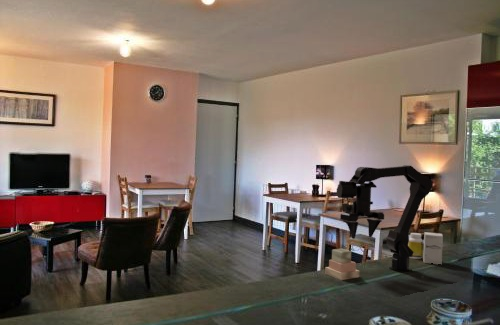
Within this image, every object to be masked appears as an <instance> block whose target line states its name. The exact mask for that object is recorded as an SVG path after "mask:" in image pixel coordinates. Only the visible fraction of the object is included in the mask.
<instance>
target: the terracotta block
mask: <svg viewBox="0 0 500 325" xmlns="http://www.w3.org/2000/svg"><path fill="white" fill-rule="evenodd" d="M328 267H329V268H331V269H333V270H336V271H338V272H340V273H341V272H350V271H356V270H357V263H356V262H355V261H352V260H351V262H347V263H338V262H336V261H333V260H332V259H329V261H328Z"/></svg>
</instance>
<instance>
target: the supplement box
mask: <svg viewBox="0 0 500 325" xmlns="http://www.w3.org/2000/svg"><path fill="white" fill-rule="evenodd" d="M423 237H424V238H423V254H422V261H423V263H424V264H431V263H433V265H438V264H441V265H442V262H443V261H442V260H443V242H444V240H443V239H444V236H443V233H437V232H429V231H428V232H426V231H424V236H423ZM441 265H440V266H441Z"/></svg>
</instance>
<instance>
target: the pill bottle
mask: <svg viewBox="0 0 500 325" xmlns="http://www.w3.org/2000/svg"><path fill="white" fill-rule="evenodd" d="M408 246H409V248H410V249H411V250H412V251H413V255H412V257H409V259H413V260H421V258H422V259H423V254H424V239H422V233H418V232H410V234H409V243H408Z"/></svg>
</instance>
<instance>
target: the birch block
mask: <svg viewBox="0 0 500 325" xmlns="http://www.w3.org/2000/svg"><path fill="white" fill-rule="evenodd" d="M324 273H325V275H327V276H330V277H333V278H335V279H336V280H337V279H338V280H340V281H343V280H344V281H345V280H350V279H355V278H360V270H358V269H356V271H350V272H341V273H340V272H338V271H336V270H333V269H331V268H329V266H325V267H324Z"/></svg>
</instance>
